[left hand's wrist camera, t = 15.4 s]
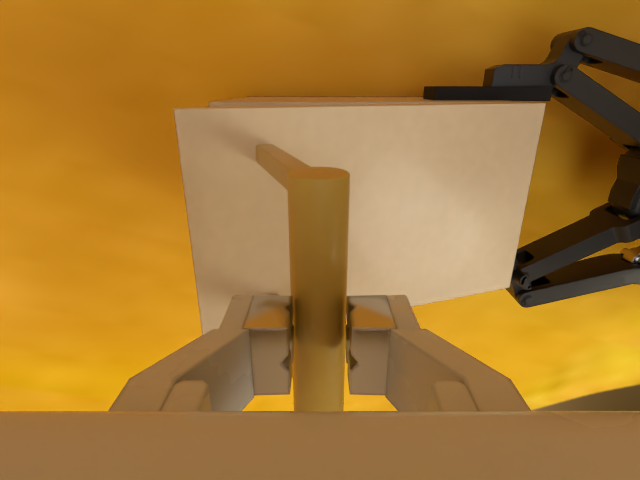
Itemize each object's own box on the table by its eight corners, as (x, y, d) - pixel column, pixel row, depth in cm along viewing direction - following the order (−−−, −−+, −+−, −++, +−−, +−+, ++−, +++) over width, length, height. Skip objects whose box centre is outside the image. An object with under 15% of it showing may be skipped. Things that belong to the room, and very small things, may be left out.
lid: (202, 333, 18) (221, 498, 11) (173, 107, 14) (172, 127, 7) (495, 279, 23) (641, 366, 16) (528, 102, 19) (735, 111, 12)
